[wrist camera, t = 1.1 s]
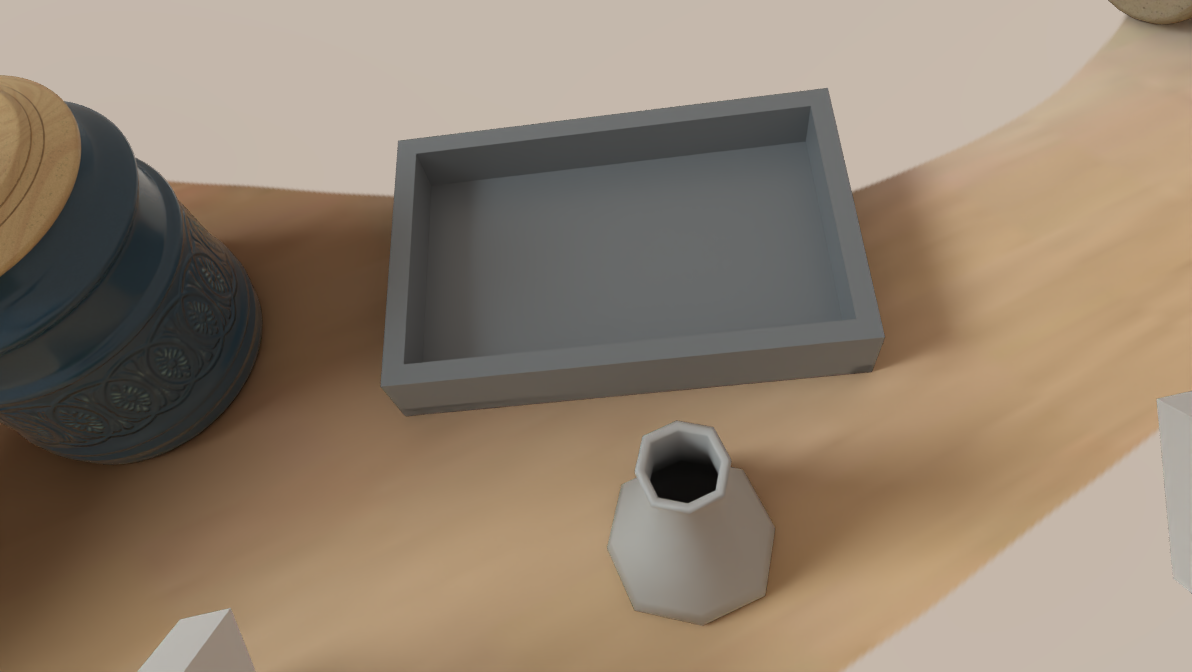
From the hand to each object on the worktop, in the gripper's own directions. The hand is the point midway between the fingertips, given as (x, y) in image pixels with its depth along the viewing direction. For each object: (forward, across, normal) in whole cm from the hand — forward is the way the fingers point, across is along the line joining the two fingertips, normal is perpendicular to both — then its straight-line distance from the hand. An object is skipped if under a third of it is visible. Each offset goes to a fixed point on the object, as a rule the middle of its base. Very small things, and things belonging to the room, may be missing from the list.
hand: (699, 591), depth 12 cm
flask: (+23, 0, -12) cm, 26 cm away
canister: (+33, -25, 0) cm, 42 cm away
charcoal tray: (+33, 0, -1) cm, 33 cm away
